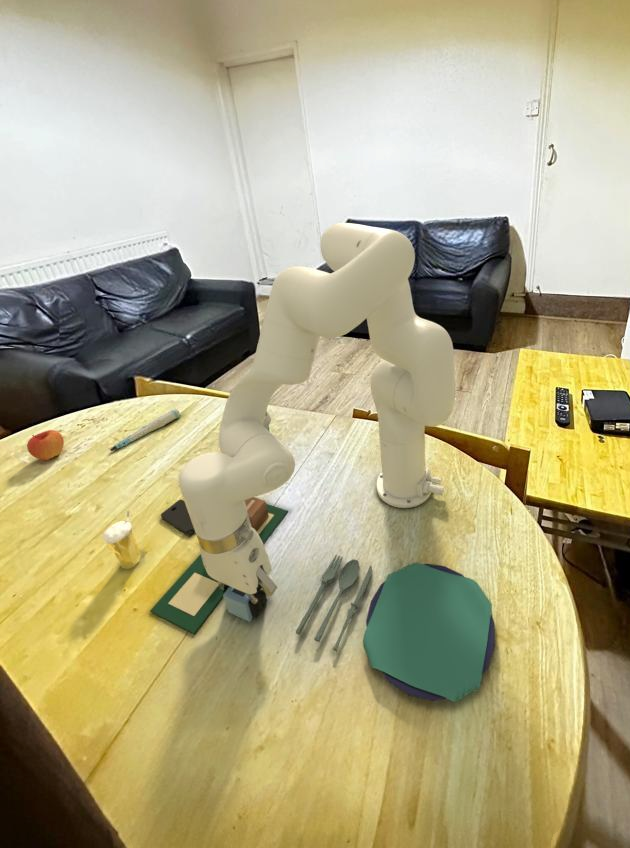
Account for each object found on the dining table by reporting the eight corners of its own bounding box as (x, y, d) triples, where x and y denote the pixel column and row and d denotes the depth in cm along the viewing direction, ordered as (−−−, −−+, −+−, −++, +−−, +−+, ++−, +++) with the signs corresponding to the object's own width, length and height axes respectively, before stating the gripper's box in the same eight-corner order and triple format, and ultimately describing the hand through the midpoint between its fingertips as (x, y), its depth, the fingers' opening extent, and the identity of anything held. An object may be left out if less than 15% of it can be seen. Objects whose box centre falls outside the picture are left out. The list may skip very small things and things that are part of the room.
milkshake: (153, 550, 81) (137, 513, 77) (130, 575, 76) (112, 537, 72) (135, 544, 82) (119, 508, 78) (112, 568, 78) (93, 531, 74)
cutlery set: (483, 734, 53) (484, 725, 52) (286, 648, 64) (284, 639, 63) (502, 591, 70) (503, 582, 69) (343, 541, 80) (342, 533, 79)
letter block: (269, 516, 86) (265, 500, 84) (255, 533, 83) (250, 517, 81) (251, 510, 88) (247, 494, 86) (237, 527, 84) (232, 511, 82)
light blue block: (266, 596, 71) (262, 579, 69) (249, 622, 68) (244, 604, 66) (246, 588, 73) (240, 570, 71) (228, 612, 69) (222, 594, 67)
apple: (73, 452, 110) (62, 428, 107) (41, 469, 105) (28, 444, 101) (61, 443, 114) (50, 420, 111) (30, 460, 108) (17, 435, 105)
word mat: (287, 511, 88) (287, 510, 88) (194, 634, 66) (193, 632, 66) (250, 499, 92) (250, 498, 91) (150, 612, 70) (149, 610, 70)
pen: (176, 414, 124) (173, 406, 123) (182, 417, 122) (179, 409, 121) (108, 451, 110) (104, 442, 109) (113, 455, 108) (109, 446, 107)
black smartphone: (188, 533, 83) (159, 515, 88) (189, 536, 83) (160, 517, 88) (209, 515, 87) (180, 498, 92) (210, 518, 87) (181, 501, 92)
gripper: (284, 524, 62) (301, 600, 70) (200, 495, 69) (224, 568, 76) (252, 567, 56) (275, 646, 64) (163, 531, 63) (193, 607, 70)
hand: (247, 603), depth 70 cm, fingers closed on light blue block, 4 cm apart
